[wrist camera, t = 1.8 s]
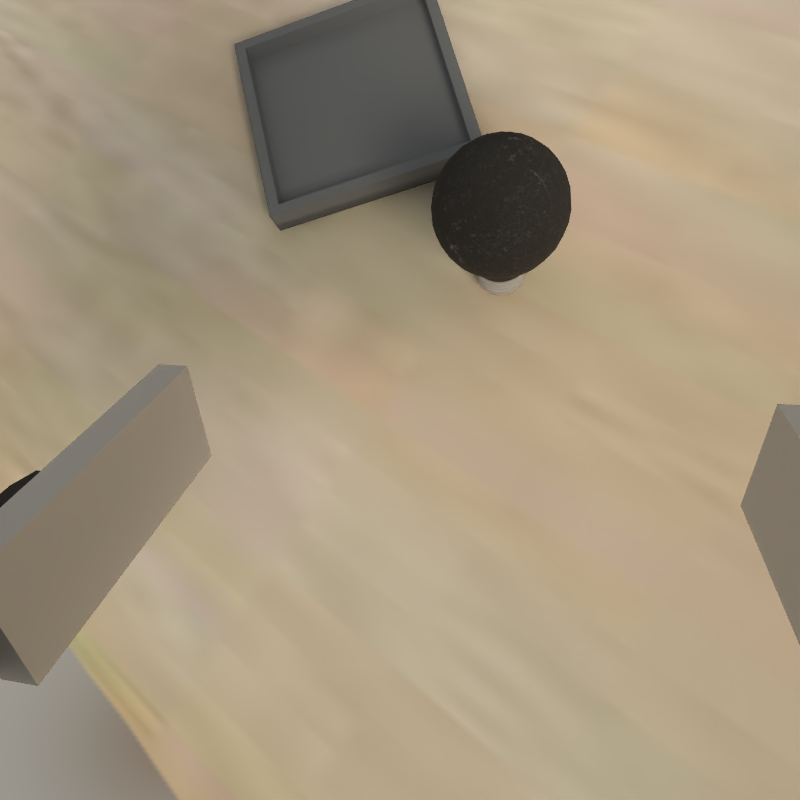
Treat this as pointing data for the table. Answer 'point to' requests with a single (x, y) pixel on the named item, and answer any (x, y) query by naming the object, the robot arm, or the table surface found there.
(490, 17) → the table surface
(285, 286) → the table surface
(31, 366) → the table surface
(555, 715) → the table surface
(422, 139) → the tray
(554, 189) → the light bulb
